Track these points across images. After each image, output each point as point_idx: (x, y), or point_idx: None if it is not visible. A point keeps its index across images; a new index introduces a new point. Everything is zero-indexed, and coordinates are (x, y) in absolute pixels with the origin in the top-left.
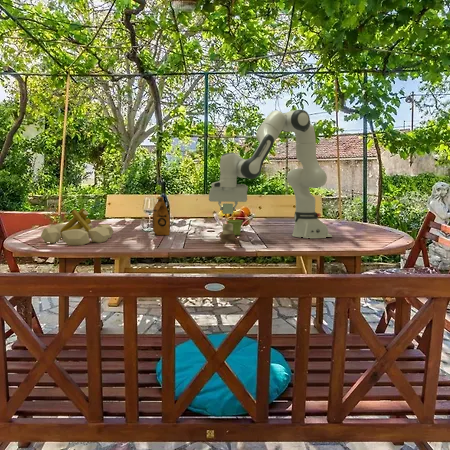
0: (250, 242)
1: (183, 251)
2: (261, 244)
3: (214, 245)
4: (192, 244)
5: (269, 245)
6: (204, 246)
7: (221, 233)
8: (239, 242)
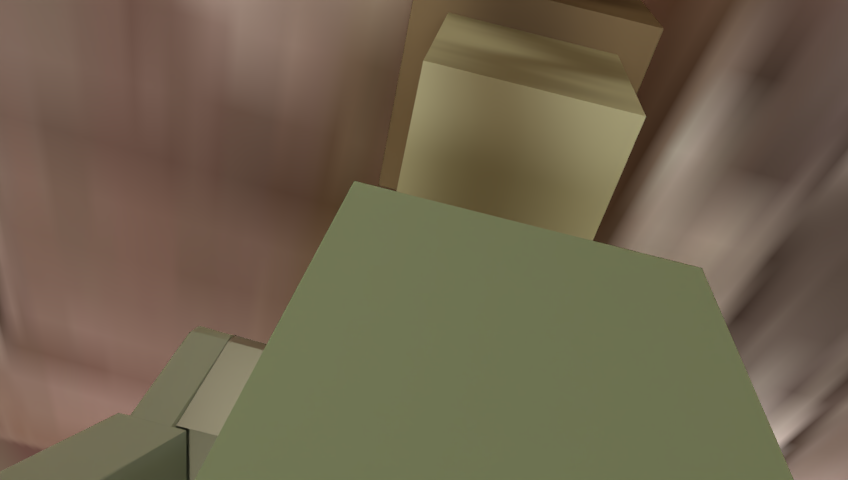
0: (758, 257)
1: (28, 434)
2: (791, 393)
3: (279, 302)
4: (53, 189)
5: (830, 454)
6: (179, 319)
7: (407, 73)
8: (620, 219)
